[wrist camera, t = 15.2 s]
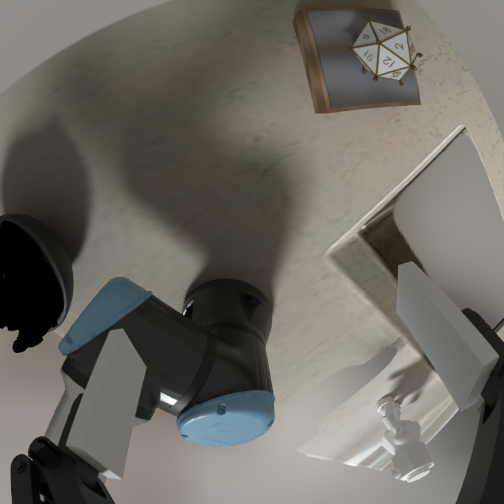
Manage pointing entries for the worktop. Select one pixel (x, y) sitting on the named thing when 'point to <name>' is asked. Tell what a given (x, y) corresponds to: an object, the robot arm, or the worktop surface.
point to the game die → (385, 50)
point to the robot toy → (403, 443)
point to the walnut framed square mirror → (347, 61)
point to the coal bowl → (32, 279)
